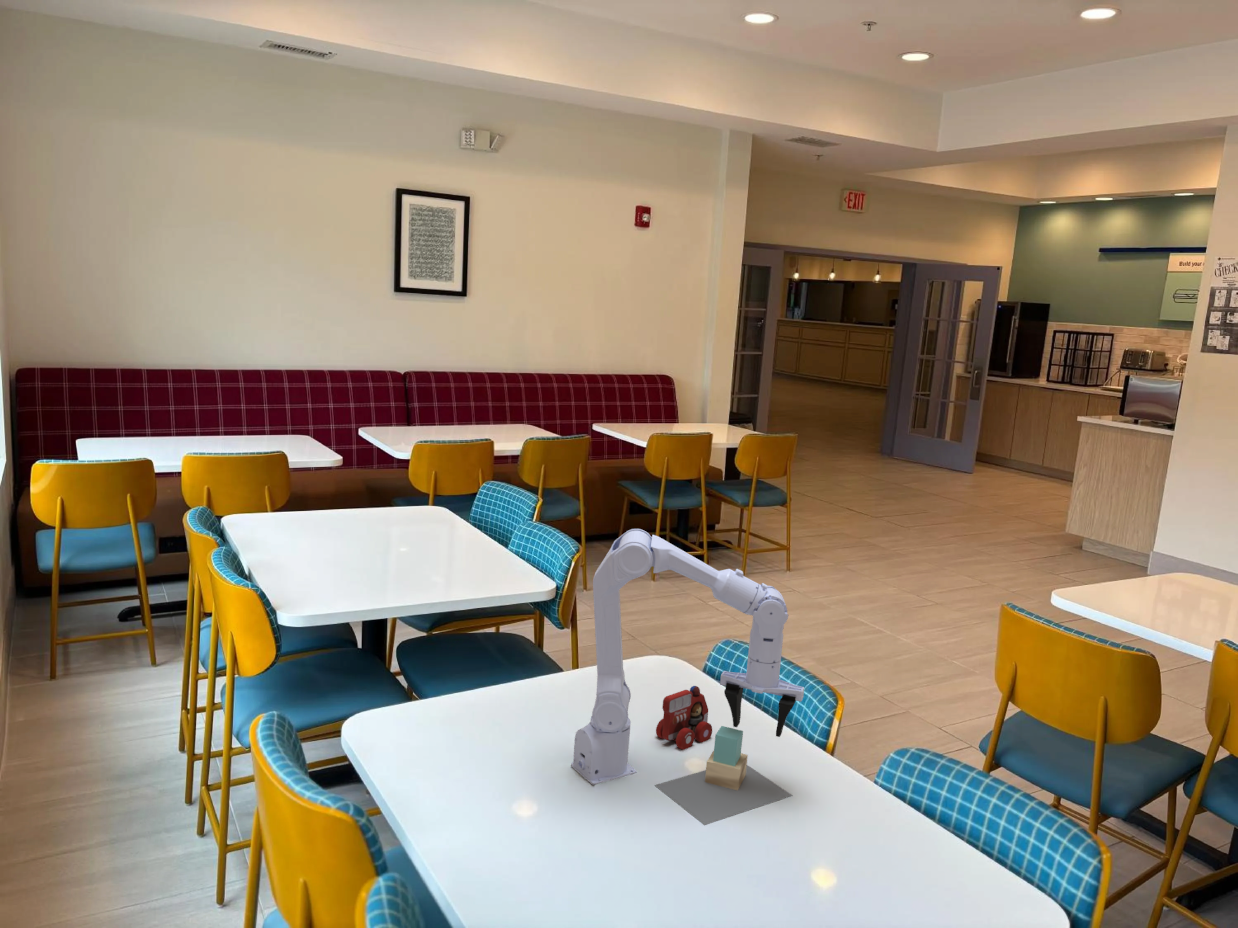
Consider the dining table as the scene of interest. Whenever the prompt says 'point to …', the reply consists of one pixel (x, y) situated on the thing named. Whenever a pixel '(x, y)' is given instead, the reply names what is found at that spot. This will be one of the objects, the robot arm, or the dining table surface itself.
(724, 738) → the teal brick
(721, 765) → the base block
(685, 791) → the mat
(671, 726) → the toy fire truck
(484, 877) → the dining table surface
